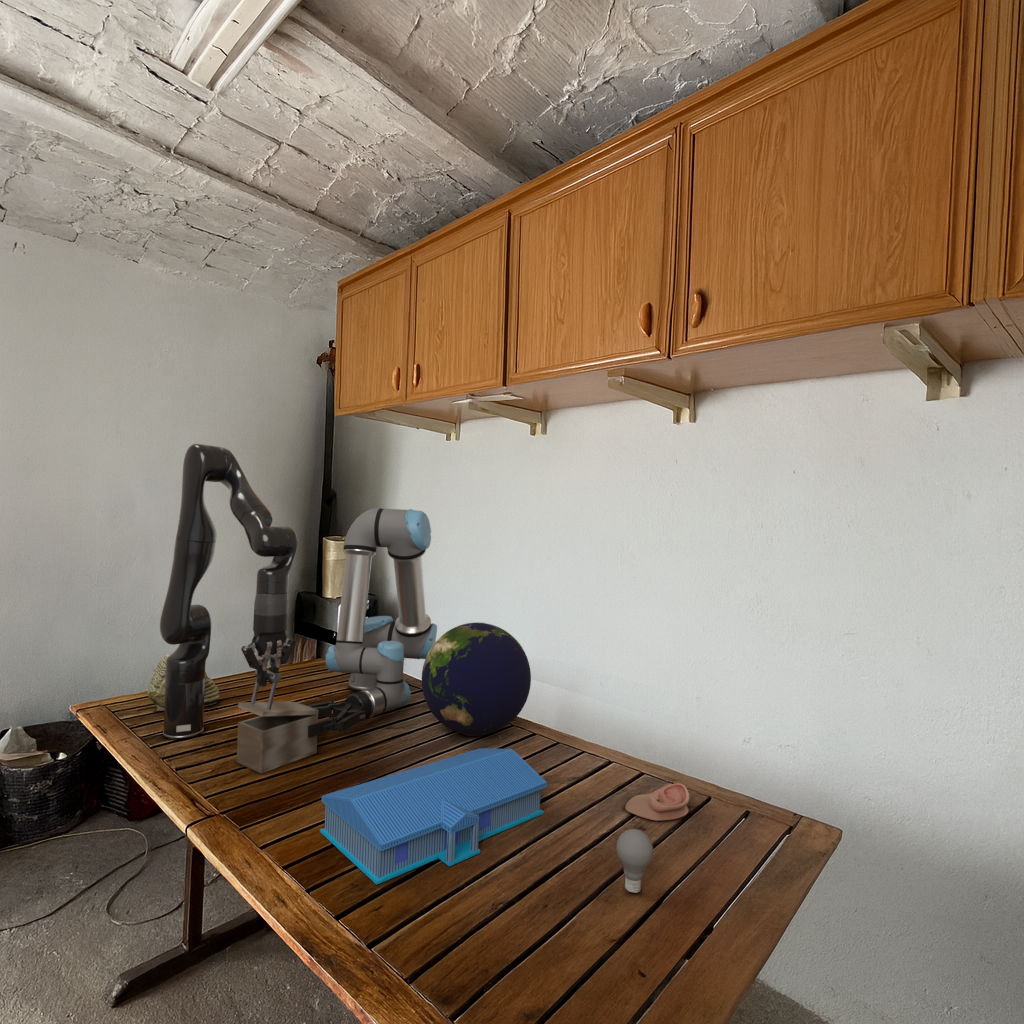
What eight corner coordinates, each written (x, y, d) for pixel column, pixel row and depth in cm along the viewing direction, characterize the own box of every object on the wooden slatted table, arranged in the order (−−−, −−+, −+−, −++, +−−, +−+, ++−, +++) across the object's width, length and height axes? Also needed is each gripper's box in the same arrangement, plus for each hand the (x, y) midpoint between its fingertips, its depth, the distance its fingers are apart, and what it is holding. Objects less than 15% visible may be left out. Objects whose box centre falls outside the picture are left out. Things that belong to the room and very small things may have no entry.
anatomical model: (625, 797, 130) (626, 774, 142) (624, 816, 131) (626, 791, 142) (692, 806, 128) (688, 782, 139) (691, 826, 128) (687, 800, 139)
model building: (386, 894, 102) (389, 832, 102) (318, 830, 120) (320, 778, 120) (555, 819, 128) (557, 770, 128) (478, 776, 146) (480, 733, 146)
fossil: (144, 707, 182) (145, 655, 182) (212, 696, 194) (213, 647, 194) (151, 716, 175) (153, 662, 175) (221, 703, 188) (223, 653, 188)
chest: (261, 773, 143) (262, 732, 143) (236, 762, 149) (237, 722, 148) (316, 753, 156) (318, 714, 156) (292, 743, 161) (293, 706, 161)
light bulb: (610, 879, 108) (613, 822, 108) (644, 879, 109) (647, 822, 109) (619, 902, 102) (622, 840, 102) (655, 901, 103) (658, 840, 103)
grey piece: (262, 716, 143) (271, 674, 144) (237, 707, 148) (246, 666, 150) (317, 714, 156) (326, 675, 157) (293, 706, 161) (301, 668, 163)
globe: (398, 740, 166) (402, 626, 165) (451, 707, 194) (455, 609, 193) (502, 762, 155) (508, 640, 154) (543, 724, 182) (548, 620, 182)
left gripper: (254, 617, 141) (250, 694, 141) (305, 610, 152) (302, 681, 153) (234, 612, 145) (231, 687, 145) (286, 606, 157) (282, 675, 157)
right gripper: (392, 727, 168) (324, 753, 150) (336, 709, 181) (267, 731, 162) (393, 699, 168) (325, 722, 150) (337, 683, 181) (268, 702, 162)
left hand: (267, 684), depth 149 cm, fingers closed on grey piece, 2 cm apart
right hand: (295, 726), depth 156 cm, fingers closed on chest, 10 cm apart
